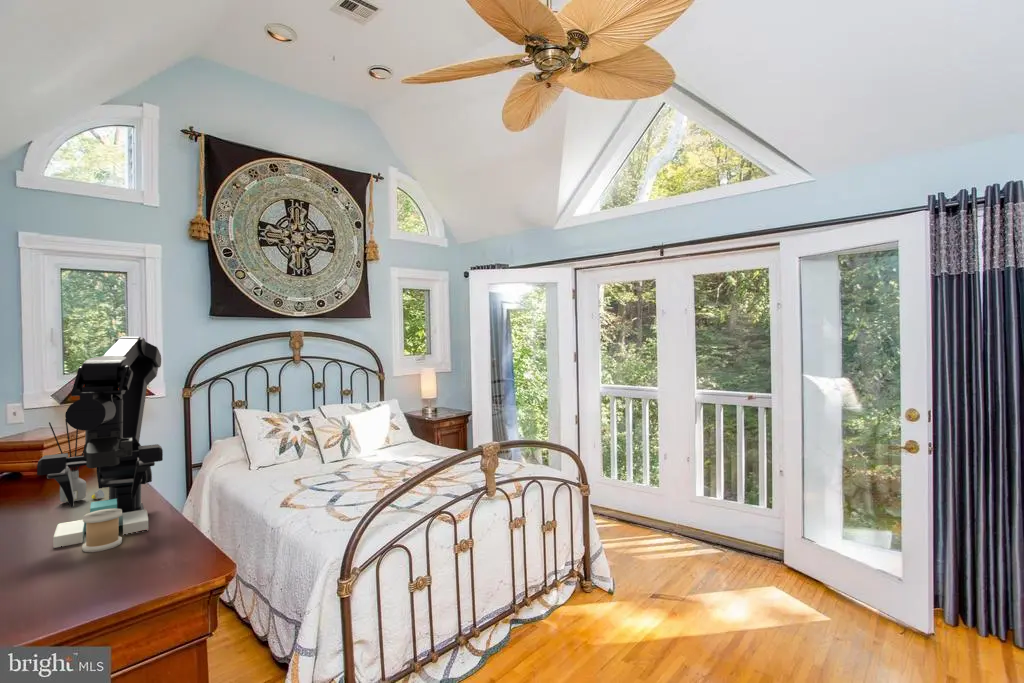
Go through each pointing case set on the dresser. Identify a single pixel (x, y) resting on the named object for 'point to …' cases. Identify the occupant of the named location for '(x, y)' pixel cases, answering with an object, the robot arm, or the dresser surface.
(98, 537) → the bobbin
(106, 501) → the teal rectangular block
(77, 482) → the reed diffuser
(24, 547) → the dresser surface
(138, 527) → the notched board
